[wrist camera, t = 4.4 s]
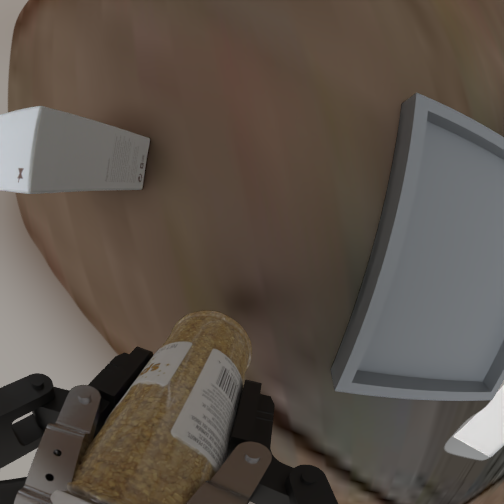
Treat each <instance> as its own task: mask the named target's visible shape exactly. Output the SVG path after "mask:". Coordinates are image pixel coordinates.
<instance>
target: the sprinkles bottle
mask: <svg viewBox="0 0 504 504" xmlns="http://www.w3.org/2000/svg"><path fill="white" fill-rule="evenodd" d="M251 359H252V348H251V342H250V339H249V337H248V335H247V333H246V331H245V330H244V329H243V328H242V327H241V325H240V324H239V323H237V322H236V321H235V320H233V319H232V318H230V317H228V316H227V315H224V314H222V313H220V312H217V311H209V310H207V311H205V310H203V311H199V312H193V313H190V314H188V315H186V316H184V317H183V318H182V319H180V320H179V321H178V322H177V324H176V325H175V326H174V328H173V329H172V333H171V335H170V336H169V338H168V339H167V340H166V342H165V343H164V344H163V346H162V347H161V348H160V349H159V350H158V351H157V352H156V353H155V354H154V355H153V357H152V358H151V359H150V361H149V362H148V363H147V365H146V366H145V367H144V369H143V370H142V372H141V373H140V374H139V376H138V377H137V378H136V380H135V381H134V382H133V384H132V385H131V386H130V388H129V389H128V391H127V392H126V393H125V395H124V396H123V397H122V399H121V400H120V401H119V403H118V404H117V405H116V407H115V408H114V409H113V411H112V412H111V413H110V415H109V416H108V418H107V420H106V422H105V424H104V426H103V427H102V429H101V430H100V431H99V433H98V434H97V436H96V437H95V438H94V440H93V441H92V442H91V444H90V445H89V446H88V448H87V450H86V452H85V454H84V456H83V457H82V460H81V464H80V465H79V467H78V469H77V471H76V474H75V478H74V480H73V481H72V482H70V483H68V484H67V491H59V490H56V491H54V492H53V493H52V495H51V497H50V499H51V501H52V503H53V504H186V503H187V502H188V501H189V500H190V498H191V497H192V496H193V495H194V494H195V493H196V491H197V490H198V489H199V488H200V487H201V486H202V484H203V483H204V482H206V481H207V480H208V481H209V480H211V479H212V477H213V476H214V475H215V474H216V472H217V471H218V470H219V469H220V467H221V466H222V465H223V464H224V462H225V461H226V458H227V453H228V447H229V443H230V439H231V435H232V431H233V427H234V423H235V419H236V415H237V411H238V407H239V403H240V399H241V395H242V390H243V380H244V376H245V372H246V371H247V369H248V367H249V365H250V362H251Z"/></svg>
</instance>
